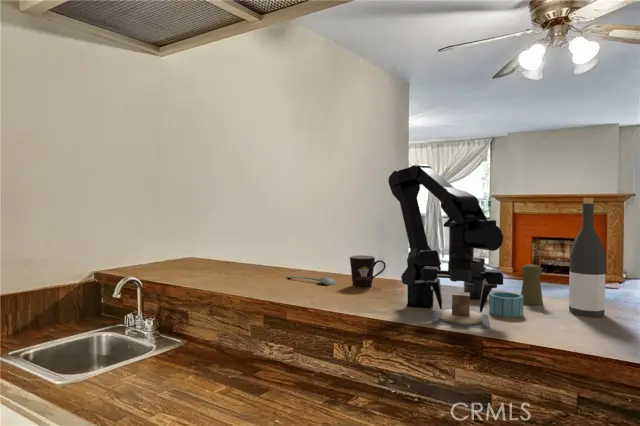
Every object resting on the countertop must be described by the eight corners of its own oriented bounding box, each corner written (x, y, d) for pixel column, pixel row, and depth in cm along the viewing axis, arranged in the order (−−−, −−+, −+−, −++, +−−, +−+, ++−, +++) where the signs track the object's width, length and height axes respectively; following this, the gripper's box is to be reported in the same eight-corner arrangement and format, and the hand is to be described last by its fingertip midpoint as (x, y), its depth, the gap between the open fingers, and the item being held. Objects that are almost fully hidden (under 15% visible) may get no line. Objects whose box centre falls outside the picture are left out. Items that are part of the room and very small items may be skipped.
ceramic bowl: (490, 316, 111) (490, 297, 111) (488, 309, 119) (488, 291, 119) (524, 319, 109) (525, 299, 108) (520, 311, 116) (521, 293, 116)
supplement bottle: (463, 298, 132) (463, 258, 131) (464, 294, 138) (464, 256, 138) (487, 300, 129) (488, 259, 129) (487, 295, 136) (488, 257, 136)
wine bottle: (561, 309, 119) (563, 198, 118) (590, 309, 119) (592, 198, 118) (581, 317, 111) (583, 197, 110) (612, 317, 111) (614, 197, 110)
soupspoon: (331, 290, 150) (341, 287, 155) (331, 280, 150) (342, 278, 155) (281, 280, 163) (292, 279, 168) (282, 271, 163) (293, 270, 168)
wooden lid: (438, 322, 104) (438, 296, 104) (440, 312, 114) (440, 288, 114) (483, 326, 101) (483, 299, 101) (481, 315, 111) (481, 291, 111)
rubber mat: (431, 325, 103) (431, 323, 103) (434, 312, 116) (434, 310, 116) (490, 330, 99) (490, 328, 99) (487, 316, 112) (487, 314, 112)
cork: (545, 306, 123) (546, 266, 122) (522, 305, 124) (523, 266, 124) (539, 301, 129) (540, 263, 128) (517, 300, 130) (518, 263, 130)
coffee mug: (346, 287, 149) (346, 257, 148) (354, 282, 157) (354, 254, 156) (379, 290, 144) (380, 259, 144) (386, 285, 152) (386, 256, 152)
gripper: (418, 248, 102) (418, 315, 103) (505, 251, 97) (504, 322, 97) (423, 244, 113) (422, 304, 113) (501, 246, 107) (501, 310, 108)
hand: (460, 310), depth 108 cm, fingers open, 9 cm apart
